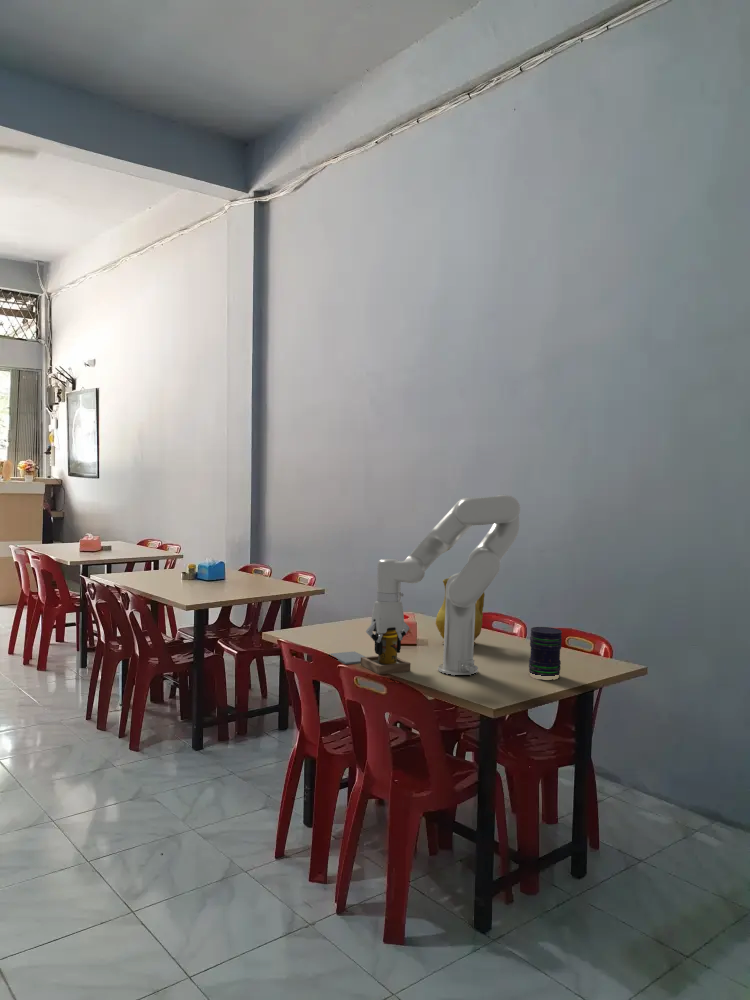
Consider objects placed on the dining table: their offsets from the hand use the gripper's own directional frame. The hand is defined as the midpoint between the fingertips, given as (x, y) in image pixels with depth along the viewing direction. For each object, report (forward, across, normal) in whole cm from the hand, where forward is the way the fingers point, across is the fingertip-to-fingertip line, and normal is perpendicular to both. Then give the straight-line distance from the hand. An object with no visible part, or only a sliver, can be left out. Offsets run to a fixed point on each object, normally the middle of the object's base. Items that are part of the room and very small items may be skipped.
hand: (387, 652), depth 249 cm
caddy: (+5, +1, 0) cm, 5 cm away
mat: (+5, +6, -15) cm, 17 cm away
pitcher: (+6, -43, -21) cm, 49 cm away
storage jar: (+6, -42, +27) cm, 50 cm away
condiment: (+4, +1, 0) cm, 4 cm away
